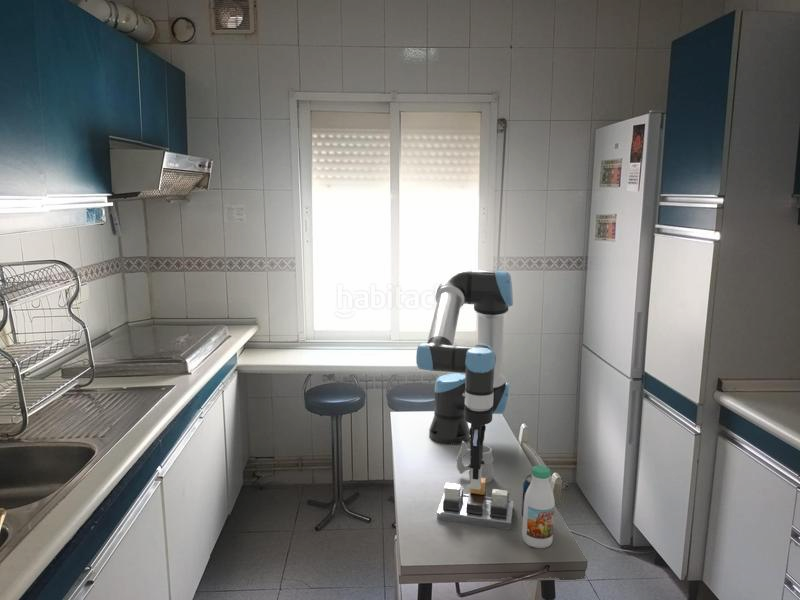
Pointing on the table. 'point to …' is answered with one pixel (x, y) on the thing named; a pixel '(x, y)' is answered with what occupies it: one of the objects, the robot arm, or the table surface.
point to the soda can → (525, 489)
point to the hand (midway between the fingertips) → (475, 487)
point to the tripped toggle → (482, 490)
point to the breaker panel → (476, 520)
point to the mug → (486, 466)
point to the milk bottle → (539, 510)
